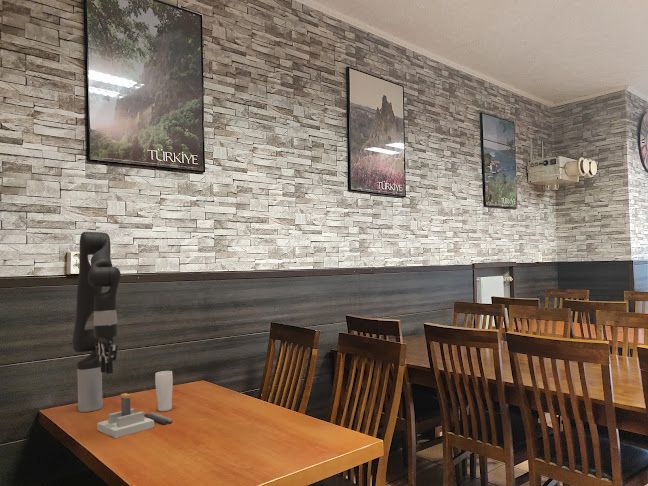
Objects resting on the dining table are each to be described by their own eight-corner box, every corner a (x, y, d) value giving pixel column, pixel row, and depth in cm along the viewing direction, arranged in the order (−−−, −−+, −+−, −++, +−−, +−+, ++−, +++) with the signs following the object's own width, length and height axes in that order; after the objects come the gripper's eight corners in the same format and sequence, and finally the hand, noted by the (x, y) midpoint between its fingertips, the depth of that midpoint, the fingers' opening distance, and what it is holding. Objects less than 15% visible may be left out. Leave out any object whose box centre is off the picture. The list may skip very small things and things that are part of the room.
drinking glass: (168, 412, 195) (167, 374, 196) (152, 412, 196) (151, 374, 197) (176, 407, 201) (175, 370, 202) (161, 407, 203) (160, 370, 204)
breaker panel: (97, 429, 176) (96, 414, 177) (134, 420, 186) (134, 405, 187) (115, 438, 166) (115, 421, 166) (154, 427, 176) (153, 411, 176)
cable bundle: (143, 418, 189) (143, 413, 189) (152, 415, 191) (152, 411, 191) (163, 425, 178) (163, 420, 178) (173, 422, 181) (172, 418, 181)
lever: (120, 418, 177) (119, 394, 178) (125, 417, 178) (124, 392, 179) (126, 421, 174) (126, 395, 174) (131, 419, 175) (131, 394, 176)
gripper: (86, 323, 175) (87, 372, 174) (103, 325, 166) (104, 377, 165) (107, 321, 181) (108, 368, 180) (125, 323, 171) (126, 372, 170)
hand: (106, 372), depth 172 cm, fingers open, 3 cm apart
